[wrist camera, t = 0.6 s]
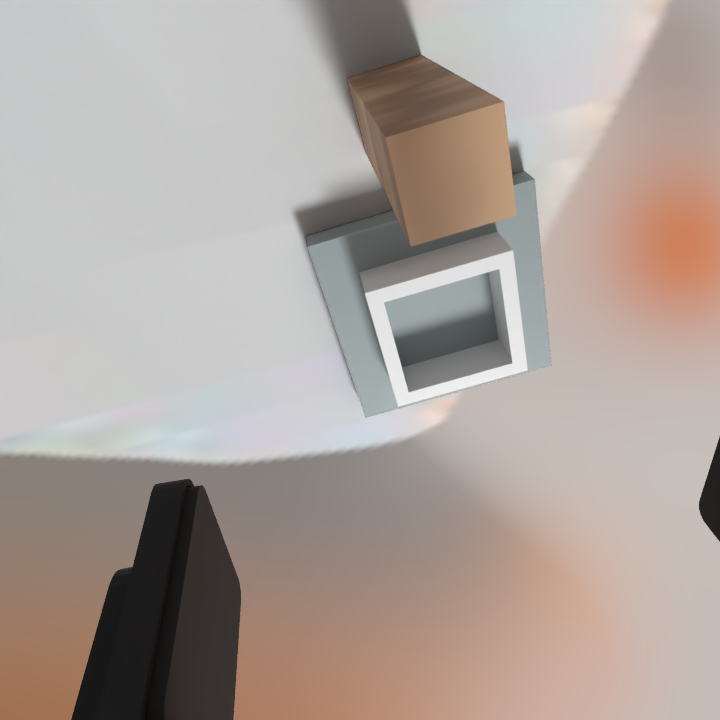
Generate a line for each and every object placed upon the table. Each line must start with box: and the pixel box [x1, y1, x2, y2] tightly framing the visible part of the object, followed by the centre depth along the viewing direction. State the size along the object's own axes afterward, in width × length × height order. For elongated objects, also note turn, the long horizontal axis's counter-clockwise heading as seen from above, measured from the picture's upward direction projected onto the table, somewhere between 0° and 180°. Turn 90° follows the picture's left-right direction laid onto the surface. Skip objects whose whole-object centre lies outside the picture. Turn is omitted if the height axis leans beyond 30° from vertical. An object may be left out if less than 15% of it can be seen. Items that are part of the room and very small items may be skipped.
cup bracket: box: [306, 171, 551, 418], centre depth 33 cm, size 12×12×4 cm
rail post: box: [347, 55, 517, 247], centre depth 23 cm, size 4×4×12 cm
